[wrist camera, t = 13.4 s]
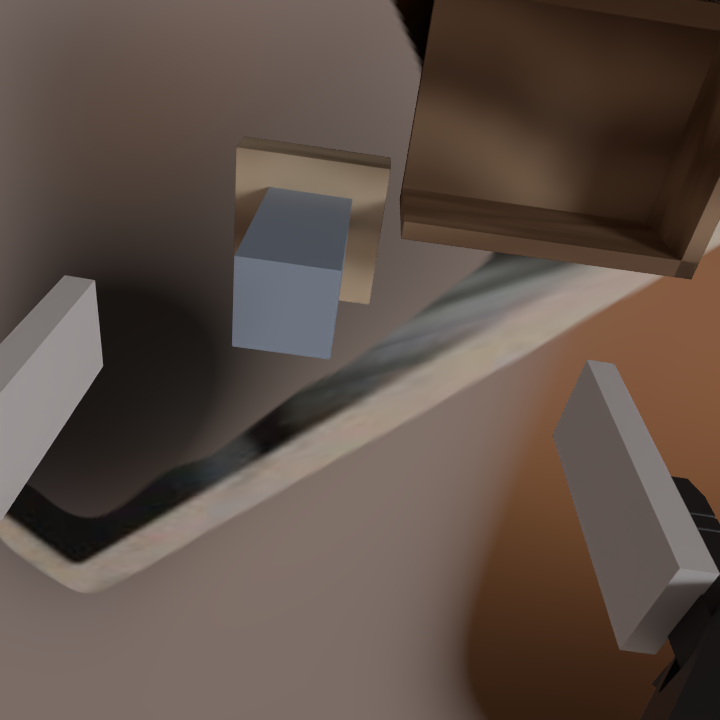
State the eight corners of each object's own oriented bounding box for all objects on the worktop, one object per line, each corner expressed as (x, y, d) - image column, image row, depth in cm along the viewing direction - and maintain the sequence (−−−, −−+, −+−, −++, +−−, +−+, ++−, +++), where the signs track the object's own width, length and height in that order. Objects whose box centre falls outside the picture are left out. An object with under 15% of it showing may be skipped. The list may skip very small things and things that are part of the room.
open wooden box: (440, -41, 33) (451, -39, 27) (745, 7, 33) (814, 18, 28) (399, 199, 40) (401, 238, 34) (650, 235, 40) (691, 279, 35)
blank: (269, 186, 37) (234, 255, 29) (352, 198, 37) (341, 270, 29) (265, 262, 40) (232, 346, 32) (342, 273, 40) (329, 359, 32)
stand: (244, 136, 38) (236, 147, 36) (390, 157, 38) (390, 169, 36) (241, 269, 43) (233, 285, 41) (370, 287, 43) (369, 304, 41)
